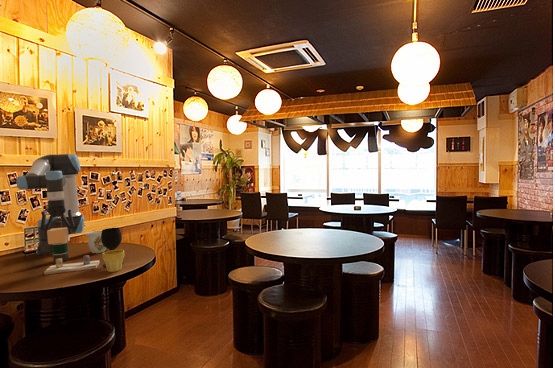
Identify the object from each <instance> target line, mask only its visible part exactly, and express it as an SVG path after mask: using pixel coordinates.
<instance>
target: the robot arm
mask: <svg viewBox="0 0 555 368" xmlns="http://www.w3.org/2000/svg"><path fill="white" fill-rule="evenodd" d="M81 169H82V168H81V164H80V160H79V157H78V155H77V154H74V153H73V154H71V153H67V154H66V153H64V154H63V153H61V154H59V153H58V154H46V155H45V154H44V155H42V156H41V157H38V158H37V159H35V160H34V161H33V162H32V164H31V168H30V169H29V171H28V172H27V173H26V174H25V175H17V177H16V187H17V189H18V190H26V191H28V190H42V189H46V197H47V198H46V199H47V210H43V211H41V219H39V220H38V221H37V234H38V245H37V248H36V255H37V256H38V255H39V256H46V255H53V251H52V244H48V233H47V231H49V230H50V229H54V228H55V221H62V228H65V227H67V229H66V234H67V242H69V241H70V240H71V239H70V235H76V234H82V233H83V231H84V230H85V229H84V228H85V215H82V214H83V213H82V212H81V211H80V209H79V199H78V198H79V197H78V184H77V177H78V175H79V172H81ZM47 215H49V217H47Z"/></svg>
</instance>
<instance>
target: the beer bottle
mask: <svg viewBox="0 0 555 368" xmlns="http://www.w3.org/2000/svg"><path fill="white" fill-rule="evenodd" d="M55 228H62V221H55ZM68 242H69V241H67V242H66V243H57V244H52V251H53V254H52V261H53V262H54V263H56V259H59V258H62V263H63V261H64V262H67V261H69V258H70V257H69V245H68V244H69V243H68Z"/></svg>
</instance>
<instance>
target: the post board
mask: <svg viewBox="0 0 555 368" xmlns="http://www.w3.org/2000/svg"><path fill="white" fill-rule="evenodd" d="M82 258H83V259H82V260H83V261H79V262H71V263H63V262H62V258H59V259H56V262H55V265H50V266H49V267H47V269H46V270H44V271H43V275H45V276H46V275H52V274H53V275H54V274H61V273H70V272H79V271H87V270H93V269H97V267H99V264H100V263H101V261H100V259H95V260H90V255H88V254H86V255H83V256H82Z"/></svg>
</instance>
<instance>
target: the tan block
mask: <svg viewBox="0 0 555 368" xmlns="http://www.w3.org/2000/svg"><path fill="white" fill-rule="evenodd" d="M66 229H67V227H65V228H54V229H50V230H49V231H47V233H48V244H57V243H66V242H68V241H67V234H66Z"/></svg>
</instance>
